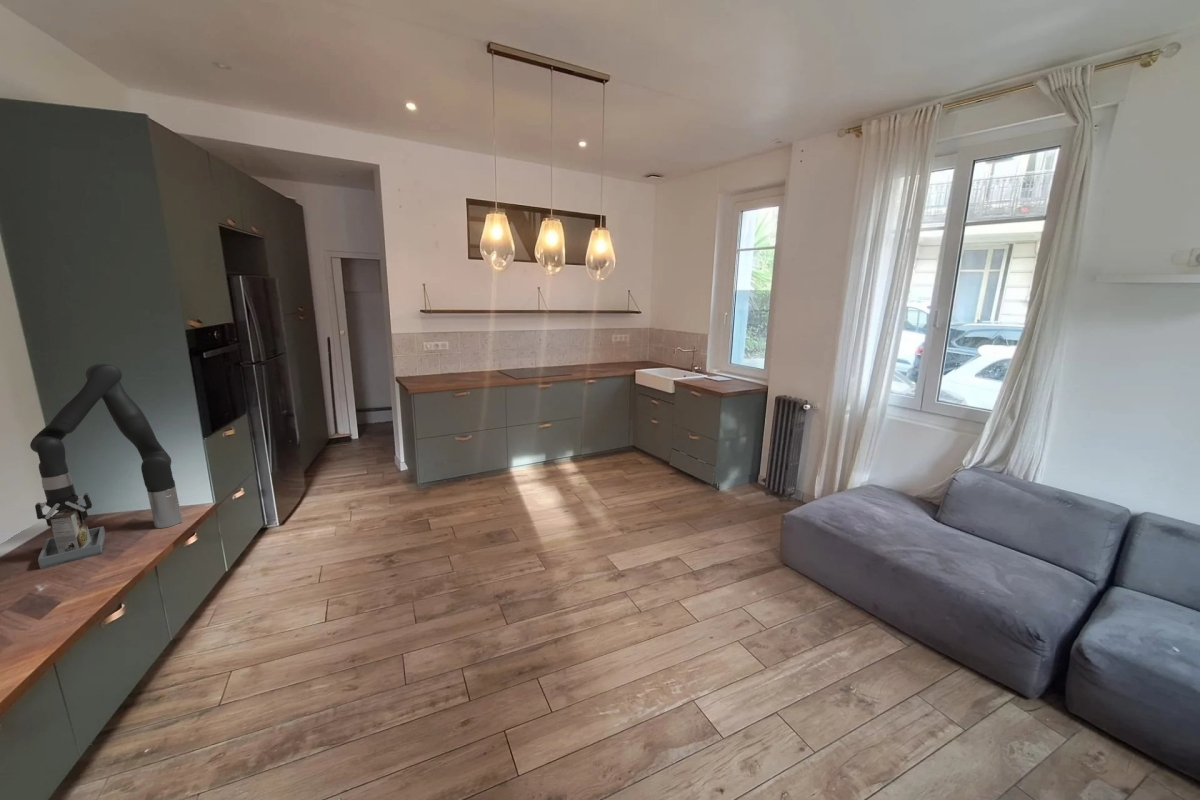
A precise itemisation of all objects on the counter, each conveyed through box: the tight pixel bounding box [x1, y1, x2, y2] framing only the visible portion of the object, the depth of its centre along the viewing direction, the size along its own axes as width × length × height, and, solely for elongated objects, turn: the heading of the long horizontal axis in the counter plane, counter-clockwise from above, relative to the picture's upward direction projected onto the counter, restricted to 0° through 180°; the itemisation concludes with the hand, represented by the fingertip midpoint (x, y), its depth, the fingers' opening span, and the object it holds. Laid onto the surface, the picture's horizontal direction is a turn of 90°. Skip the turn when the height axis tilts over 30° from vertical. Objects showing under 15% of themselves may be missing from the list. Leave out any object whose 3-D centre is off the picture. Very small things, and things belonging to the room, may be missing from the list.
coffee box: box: [49, 507, 91, 553], centre depth 184 cm, size 9×6×16 cm
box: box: [37, 526, 106, 570], centre depth 186 cm, size 16×20×4 cm
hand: (68, 522), depth 183 cm, fingers open, 8 cm apart
